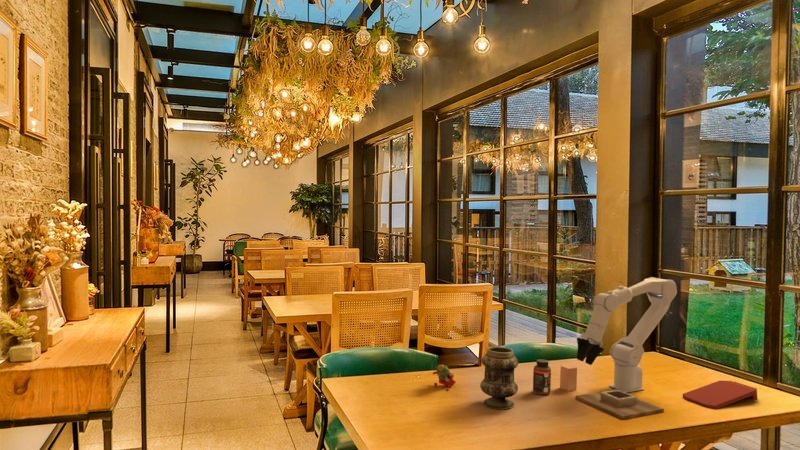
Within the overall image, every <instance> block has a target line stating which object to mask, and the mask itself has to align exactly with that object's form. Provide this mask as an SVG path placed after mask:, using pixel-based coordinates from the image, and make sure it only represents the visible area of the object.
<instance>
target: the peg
mask: <svg viewBox="0 0 800 450" xmlns="http://www.w3.org/2000/svg"><path fill="white" fill-rule="evenodd" d="M577 377H578V367H576V366H574V365H571V364H563V365H560V376H559V389H562V390H564V391H566V392H572V391H577V389H578V388H577V384H578V383H577V380H578V378H577Z"/></svg>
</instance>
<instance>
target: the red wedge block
mask: <svg viewBox="0 0 800 450" xmlns="http://www.w3.org/2000/svg"><path fill="white" fill-rule="evenodd" d="M682 398H684V399H685V401H688V402H691V403H694V404H696V405H699V406H703V407H705V408H708V409H713V410H717V409H720V408H723V407H726V406H729V405H731V404H733V403H736V402H738V401H742V400H744V399H746V398H747V399H751V400H758V388H757V387H753V386H750V385H747V384H744V383H743V384H742V383H741V382H740V383H739V382H737V381H732V380H718V381H715V382H712V383H710V384H706V385H704V386H701V387H698V388H695V389H692V390H690V391H686V392H684V393H682Z"/></svg>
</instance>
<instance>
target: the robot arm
mask: <svg viewBox="0 0 800 450" xmlns="http://www.w3.org/2000/svg"><path fill="white" fill-rule="evenodd" d="M643 294H646V295H647V298H648V300H649V302H650V306H649V307H648V309H647V310H646V311H645V312H644V314H643V316H641V318H640V319H639V320H638V322H637V323H636V324H635V326H634V327H633V329H632V330H631V331H630V333H629V334H628V335H627V336H625V337H621V338H620V339H619V340H618V341H617V342H615V343H614V344H612V345H611V347H610V349H609V350H610V351H609V355H610V357H611V359H613V360H612V362H613V363H614V367H613V369H614V371H613V383H612V384H611V383H610V384H608V387H610V388H613V389H614V390H620V391H623V392H626V393H631V392H638V391H642V390H643V391H644V390H645V388H644V387H643V368H642V367H641V365H640V362H641V361H642V357H643V355H644V353H645V350H644V346H643V344H644V343H645V341H646V340H647V339H648V338H649V336H650V335H651V334H652V332H653V331H654V330H655V328H656V327H657V325H658V324H659V323H660V322H661V320H662V319H663V317H664V316H665V314H666V313H667V312H668V310H669V309H670V307H671V303H672V301H673V300H674V299H675V298H676V295H678V288H677V284H676V282H675V281H674V280H673V279H664V278H658V277H654V276H651V277H648V278H644V279H643V280H642V281H640V282H638V283H636V284H633V285H632V286H629V287H627V286H624V285H619V286H617V288H615V289H613V290H611V289H610V290H607V292H606V293H605V292H600V293H598V294H597V295H596V296H595V297H593V299H592V300H593V302H592V303H593V308H592V313H591V317H590V319H589V322H588V324H587V327H586V330H585V332H582V333H581V335H580V337H577V338H576V342H577V351H576V352H577V353H576V360H578V361H580V362H582V363H583V362H584V361H585V362H584V363H585V364H587V365H590V366H592V365H593V364H594V363H595V360H596V358H598V356H599V355H600V354H601V353H603V352H604V350H605V348H604V347H603V344H604V342H603V341H602V340H603V337H604V335H605V331H606V328H607V325H608V322H609V320H610V318H611V314H612V312H613V311H614V312H615V311H616V310H617V309H618V307H619V306H622V305H624V304H627V303H630V302H631V301H632V300H633V298H634V297H637V296H639V295H643Z"/></svg>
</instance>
